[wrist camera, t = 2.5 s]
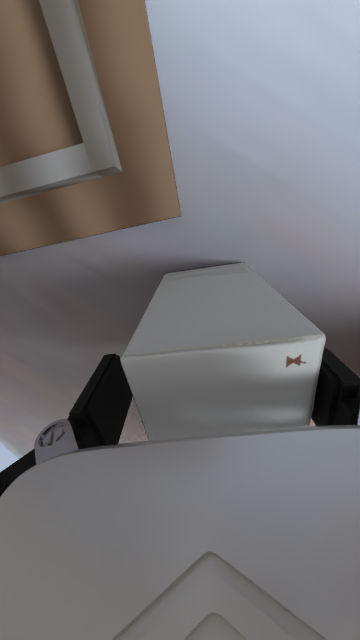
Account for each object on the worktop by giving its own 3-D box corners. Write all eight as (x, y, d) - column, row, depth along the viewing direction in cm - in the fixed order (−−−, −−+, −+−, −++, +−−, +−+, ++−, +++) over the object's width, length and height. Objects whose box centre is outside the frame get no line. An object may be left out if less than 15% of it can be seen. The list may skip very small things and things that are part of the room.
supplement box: (162, 272, 18) (112, 353, 7) (245, 260, 18) (340, 333, 6) (175, 340, 22) (154, 471, 10) (246, 333, 21) (308, 470, 9)
